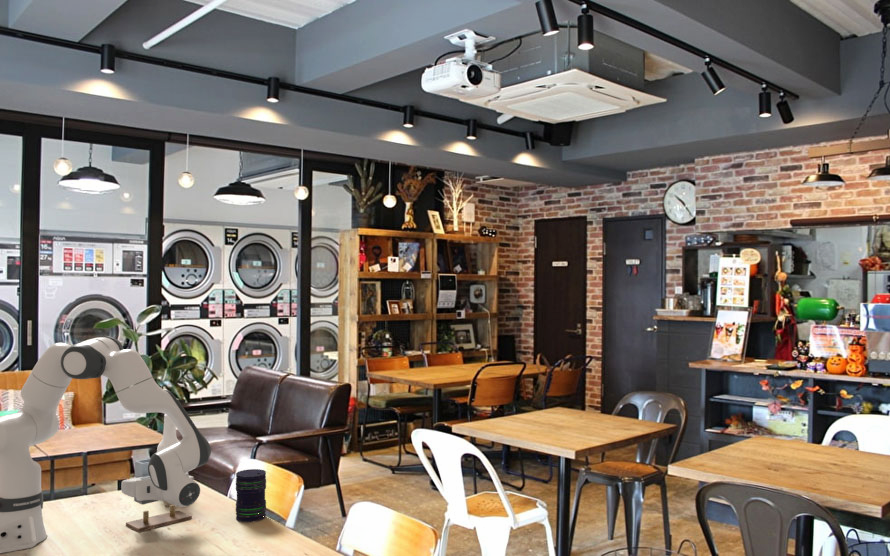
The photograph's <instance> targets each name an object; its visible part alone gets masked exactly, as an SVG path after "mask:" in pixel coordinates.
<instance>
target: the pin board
mask: <svg viewBox="0 0 890 556" xmlns="http://www.w3.org/2000/svg"><path fill="white" fill-rule="evenodd" d="M142 513H143V514H142V516H143V517H142V518H140V519H136V520H131V521H127V522H126V521H125V526H126V527H127V528H130V529H132V530H134V531H135V532H138V533H140V532H143V531H147V530H152V529H157V528H160V527H164V526H168V525H171V524H172V525H173V524H176V523H180V522H183V521H188V520H191V519H193V518H192V517H193V516H192V515H191V514H189V513H186V512H184V511H181V510H179V509H177V510H176V506H175V505H170V506H169V512H165V513H160V514H157V515H152V516H149V513H150V512H149V510H143V512H142Z"/></svg>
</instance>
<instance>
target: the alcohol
mask: <svg viewBox="0 0 890 556" xmlns="http://www.w3.org/2000/svg"><path fill="white" fill-rule="evenodd" d="M163 419H164V420H163V421H164V422H163V431H162V438H161V440H160V441H159V443H158V445H157V449H156V453H157V452H158V451H160V450H162V449H164V448H166V447H169V446H171V445H173V444H175V443H177V442H179V441H180V439H178V437H177V427H176V426H175V424H174V423H173V421H172V420H171V418H170V417H169V416H168V415H166V414H163Z"/></svg>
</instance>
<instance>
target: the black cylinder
mask: <svg viewBox="0 0 890 556" xmlns="http://www.w3.org/2000/svg"><path fill="white" fill-rule="evenodd" d="M266 474H267V471H266V470H264V469H256V468H253V469H252V468H251V469H244V470H238V471H237V472H236V473H235V477H236V478H235V491H236V501H235V502H236V503H235V515H236V517H235V520H236V521H237V522H239V523H241V522H242V523H254V522H253V521H256V522H259V521H260V522H261V521H262V520H264V519H266V517H267V514H266V512H267V501H266V489H267V475H266ZM258 513H259V514H258ZM263 516H264V517H263Z"/></svg>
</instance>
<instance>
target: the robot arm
mask: <svg viewBox="0 0 890 556" xmlns="http://www.w3.org/2000/svg"><path fill="white" fill-rule="evenodd" d="M102 376H103V377H106V378H107V379H108V380H109V381H110V382H111V385H112V387H113V389H114V393H115V394H116V396H117V398H118V401H119V402H120V404H121V406H122V407H123V408H124V409H125V410H126V411H129V412H131V413H136V414H151V413H162V414H163V415H165V414H166V415H168V416H169V417H170V418H171V420H172V421H173V423H174V424H175V426H176V430H178V432H179V433H180V435H181V437H182V439H181V440H179V442H177V443H175V444H173V445H171V446H169V447H166V448H164V449H162V450H160V451H158V452H157V451H156V452H155V453H153V454H152V455H151V456H150V458H149V459H150V461H149V465H148V472H149V475H148V476H143V477H135V476H134V477H132V478H129V479H128V478H127V479H124V480H122V481H121V484H120V485H121V486H120V488H121V493H123V495H126V496H127V497H131V498H134V497H136V500H138V501H145V500H159V501H162V502H165V501H166V502H168V503H170V504H172V505H175V507H180V508H185V507H189V506H191V505H192V504H194V503H195V502H196V501H197V500H198V499H199V496H200V494H201V487H200V485H199V483H198V482H197V481H195V480H194V479H195V478H194V476H193V475H189V472H190V471H193V470H194V469H197V468H199V467H200V468H201V467H202V466H205V465H207V463H208V462H209V460H210V457H211V454H212V447H211V445H210V443H209V441H208V440H207V438H206V437H205V435H204V434H202V433H201V431H200V430H199V429H198V427H197V426H196V424H195V423H194V421H193V420H192V418H191V417H190V416H189V414H188V412H187V411H186V410H185V408H184V407H183V405H182V404H181V402H180V401H179V400H178V398H177V397H176V396H175V395H174V393H173V392H171V391H170V390H168V389H163V388H162V387H160V386H159V384H157V382H156V380H155V379H154V377H153V374H152V373H151V371H150V369H149V367H148V365H147V364H146V362H145V359H143V358H142V356H141V355H140V353H139V352H138V351H137V350H135V349H132V348H131V349H130V348H126V349H124V346H123V344H122V342H120V341H119V339H118V338H115V337H112V336H108V335H103V336H98V337H94V338H92V337H91V338H89V339H86V340H83V341H81V342H79V343H77V342H76V343H74V344H72V345H71V344H70V343H65V342H56V343H53V344H51V345H50V346H48V348H47V349H46V350H45V351H44V352H43V353H42V355H41V356H40V358H39V359H38V360H37V362H36V364H35V365H34V367H33V368H32V370H31V372H30V374H29V375H28V377H27V378H26V381H25V382H24V384H23V386H22V388H21V390H20V396H21V399H22V400H23V406H22V407H21V408H20V409H19V410H18V411H17V412H14V413H13V412H12V413H9V414H5V415H1V416H0V554H5V553H8V552H15V551H19V550H25V549H26V550H27V549H31V548H34V547H36V546H37V544H39V543H41V542H42V541H44V540H46V539H47V537H48V534H47V531H46V527H45V523H44V517H43V509H44V507H43V506H44V493H43V490H42V466H41V464H40V463H39V462H37V461H35V460H33V458H32V456H31V452H30V447H33V446H36V445H39V444H42V443H45V442H46V441H47V440H49V439H51V438H53V437H54V436H55V435H56V434H57V433H58V431H59V427H60V421H59V417H58V416H57V409H58V406H59V404H60V402H61V400H62V398H63V397H64V395H65V393H66V391H67V388H68V387H69V386H70V384H71V381H72V380H73V379H74V380H90V379H99V378H101V377H102Z"/></svg>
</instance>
